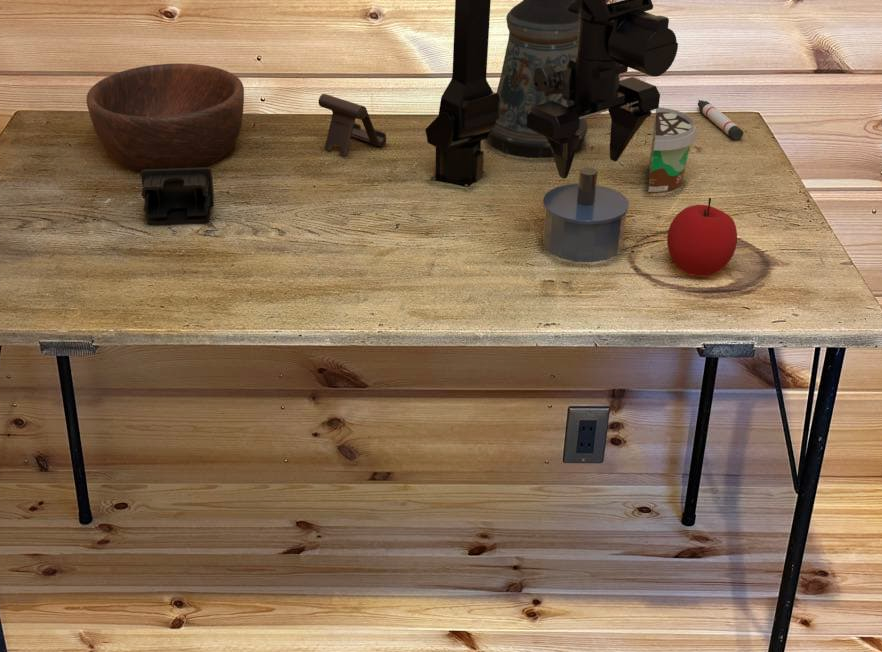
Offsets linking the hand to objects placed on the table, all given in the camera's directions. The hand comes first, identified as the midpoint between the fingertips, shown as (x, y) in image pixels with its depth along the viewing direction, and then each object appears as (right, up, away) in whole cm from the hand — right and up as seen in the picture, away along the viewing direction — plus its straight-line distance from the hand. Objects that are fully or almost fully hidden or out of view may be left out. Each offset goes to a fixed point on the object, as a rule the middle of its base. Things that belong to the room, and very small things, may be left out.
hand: (588, 168), depth 159 cm
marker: (+29, +16, +42) cm, 54 cm away
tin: (0, -10, +7) cm, 12 cm away
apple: (+15, -13, +1) cm, 20 cm away
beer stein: (-1, +12, +38) cm, 40 cm away
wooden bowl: (-62, +10, +37) cm, 73 cm away
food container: (+16, +2, +23) cm, 28 cm away
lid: (0, -4, +3) cm, 5 cm away
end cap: (-58, -3, +17) cm, 60 cm away
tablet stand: (-33, +11, +37) cm, 50 cm away
